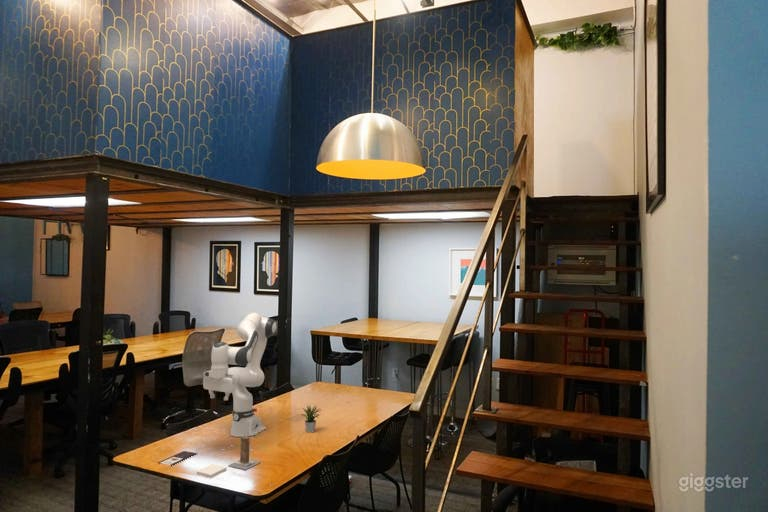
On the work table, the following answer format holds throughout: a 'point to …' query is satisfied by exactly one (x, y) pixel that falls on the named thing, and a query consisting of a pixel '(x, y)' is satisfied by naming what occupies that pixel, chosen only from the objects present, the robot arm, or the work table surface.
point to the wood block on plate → (244, 453)
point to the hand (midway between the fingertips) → (219, 399)
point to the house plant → (310, 418)
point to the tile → (211, 471)
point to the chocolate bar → (177, 458)
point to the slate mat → (243, 466)
